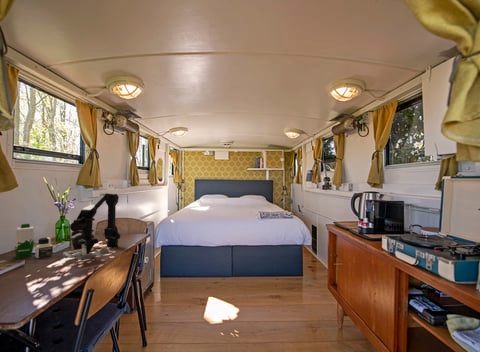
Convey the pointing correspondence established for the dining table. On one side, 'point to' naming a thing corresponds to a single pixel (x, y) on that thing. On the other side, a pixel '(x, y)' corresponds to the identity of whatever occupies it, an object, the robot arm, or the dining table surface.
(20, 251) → the milk carton
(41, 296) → the dining table surface
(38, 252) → the medicine bottle
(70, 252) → the tray
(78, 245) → the cup
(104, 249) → the plunger
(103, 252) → the filter head
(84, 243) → the cartridge
